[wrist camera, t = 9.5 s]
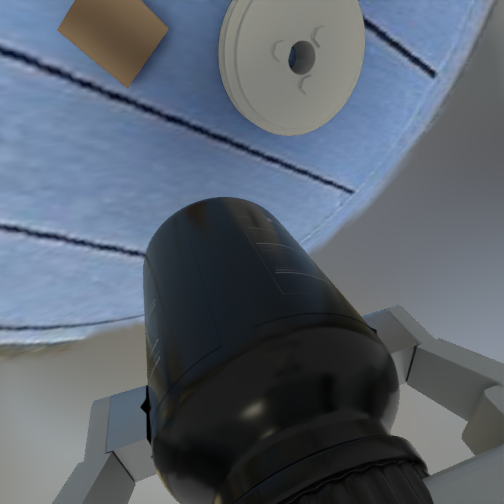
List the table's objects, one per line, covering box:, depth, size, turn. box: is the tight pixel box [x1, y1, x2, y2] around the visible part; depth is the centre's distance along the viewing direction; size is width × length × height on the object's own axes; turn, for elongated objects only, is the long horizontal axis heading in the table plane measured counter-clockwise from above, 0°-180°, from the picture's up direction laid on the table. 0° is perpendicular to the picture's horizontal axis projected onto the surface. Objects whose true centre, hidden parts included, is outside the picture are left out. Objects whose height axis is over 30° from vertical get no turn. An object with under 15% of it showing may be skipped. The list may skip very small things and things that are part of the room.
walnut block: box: [57, 0, 169, 89], centre depth 23 cm, size 5×5×5 cm
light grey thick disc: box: [218, 0, 365, 136], centre depth 28 cm, size 13×13×5 cm
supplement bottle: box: [143, 197, 434, 504], centre depth 10 cm, size 7×7×12 cm
